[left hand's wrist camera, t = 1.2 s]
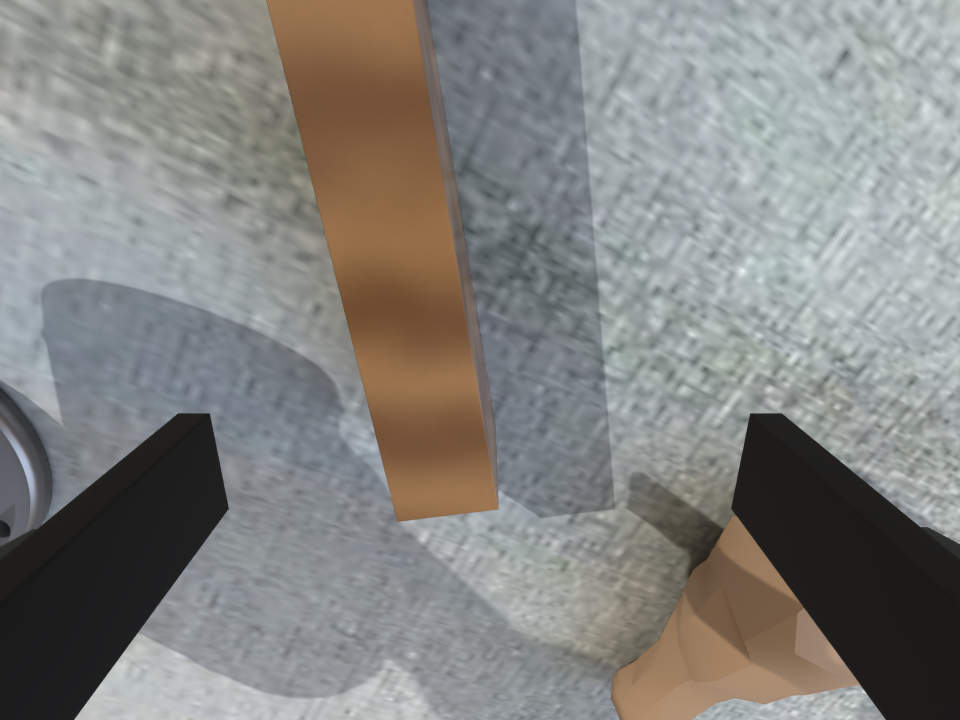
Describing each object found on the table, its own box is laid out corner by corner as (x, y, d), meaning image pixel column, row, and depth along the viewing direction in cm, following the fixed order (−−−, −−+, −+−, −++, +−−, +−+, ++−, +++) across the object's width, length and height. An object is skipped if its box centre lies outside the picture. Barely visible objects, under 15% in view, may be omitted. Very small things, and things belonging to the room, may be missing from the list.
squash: (882, 511, 33) (1015, 653, 26) (673, 669, 42) (726, 811, 34) (765, 453, 30) (880, 598, 22) (563, 638, 38) (595, 789, 31)
